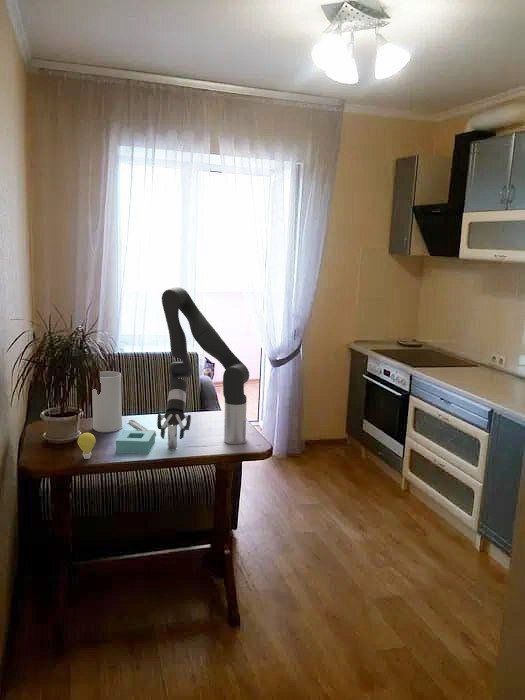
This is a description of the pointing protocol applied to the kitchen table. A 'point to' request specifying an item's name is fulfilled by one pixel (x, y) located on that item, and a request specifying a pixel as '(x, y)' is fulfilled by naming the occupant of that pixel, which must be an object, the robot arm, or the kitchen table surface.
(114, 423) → the cylinder vase
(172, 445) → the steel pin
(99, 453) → the kitchen table surface
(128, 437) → the socket block
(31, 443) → the kitchen table surface
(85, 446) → the light bulb
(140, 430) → the adjustable wrench
